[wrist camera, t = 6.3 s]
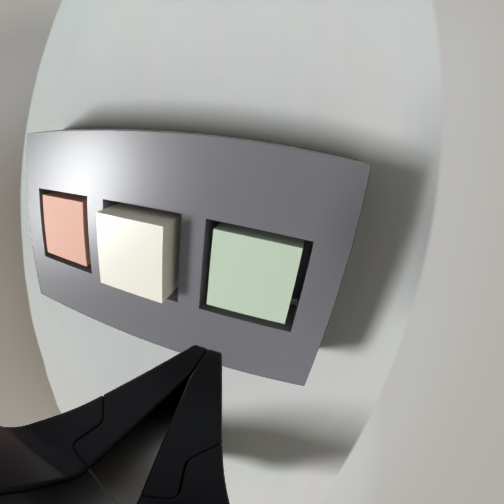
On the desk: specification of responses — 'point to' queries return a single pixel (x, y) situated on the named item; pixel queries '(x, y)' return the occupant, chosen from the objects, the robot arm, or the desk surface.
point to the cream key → (139, 249)
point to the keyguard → (203, 233)
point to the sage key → (253, 271)
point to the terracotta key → (67, 226)
